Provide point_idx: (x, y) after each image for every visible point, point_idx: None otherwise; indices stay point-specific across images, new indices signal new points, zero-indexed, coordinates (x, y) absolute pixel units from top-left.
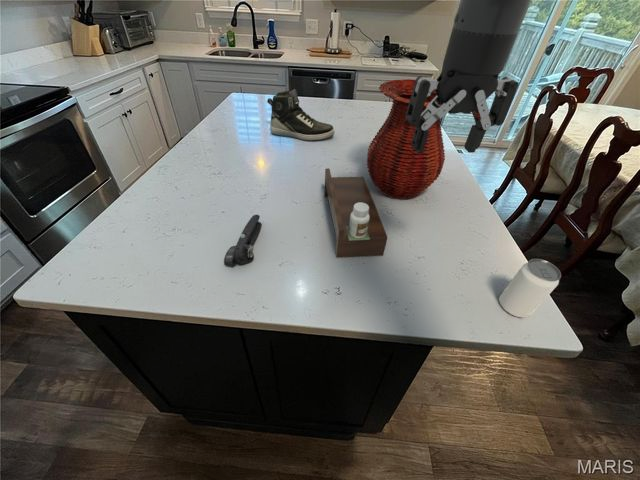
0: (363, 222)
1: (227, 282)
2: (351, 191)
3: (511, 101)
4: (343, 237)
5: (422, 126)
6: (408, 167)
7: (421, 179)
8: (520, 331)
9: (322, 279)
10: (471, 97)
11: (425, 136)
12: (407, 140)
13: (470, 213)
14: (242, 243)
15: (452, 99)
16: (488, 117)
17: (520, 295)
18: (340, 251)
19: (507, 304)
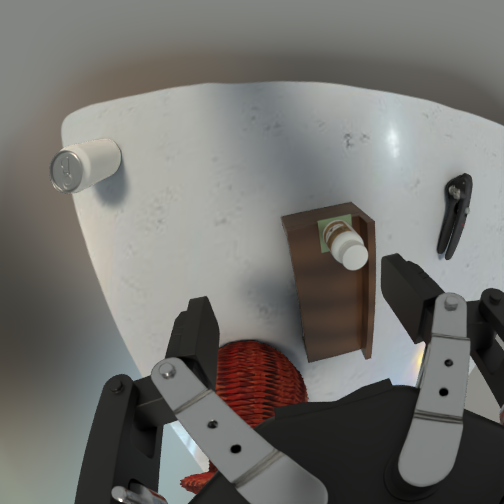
0: (344, 233)
1: (461, 153)
2: (332, 327)
3: (85, 457)
4: (358, 220)
5: (461, 298)
6: (250, 378)
7: (222, 364)
8: (107, 118)
9: (369, 159)
10: (318, 477)
11: (419, 284)
12: (260, 418)
13: (142, 324)
14: (467, 197)
15: (452, 418)
16: (170, 401)
17: (98, 146)
18: (351, 206)
19: (113, 147)
